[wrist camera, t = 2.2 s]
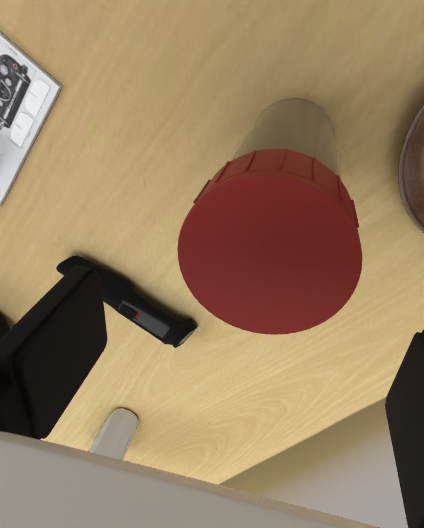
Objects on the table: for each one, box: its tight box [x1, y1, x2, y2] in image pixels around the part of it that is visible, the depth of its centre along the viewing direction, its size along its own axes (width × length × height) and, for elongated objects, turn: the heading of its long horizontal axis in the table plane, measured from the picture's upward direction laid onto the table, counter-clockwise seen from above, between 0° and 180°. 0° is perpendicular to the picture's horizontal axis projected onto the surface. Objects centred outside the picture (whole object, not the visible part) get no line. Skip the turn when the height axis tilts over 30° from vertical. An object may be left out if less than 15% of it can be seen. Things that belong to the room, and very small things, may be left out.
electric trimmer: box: [56, 256, 198, 348], centre depth 41 cm, size 4×16×3 cm, turn 57°
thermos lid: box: [178, 148, 362, 335], centre depth 16 cm, size 7×7×4 cm
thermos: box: [230, 98, 342, 181], centre depth 23 cm, size 6×6×18 cm
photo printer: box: [89, 408, 138, 460], centre depth 51 cm, size 10×4×12 cm, turn 152°
